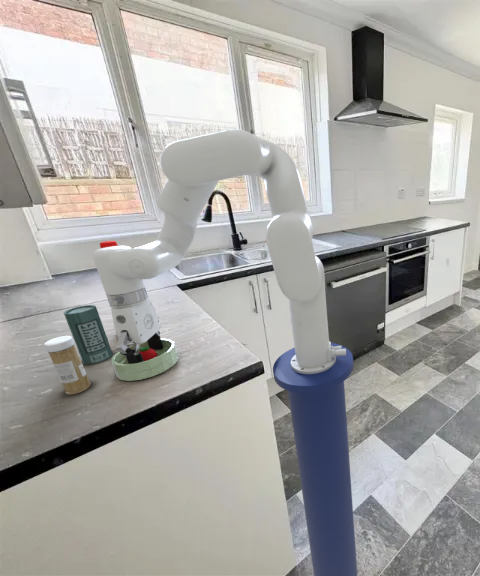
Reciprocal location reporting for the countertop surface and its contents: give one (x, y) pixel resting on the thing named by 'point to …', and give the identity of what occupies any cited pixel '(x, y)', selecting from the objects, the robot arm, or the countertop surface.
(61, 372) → the sprinkles bottle
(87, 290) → the countertop surface
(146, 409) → the countertop surface
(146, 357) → the tomato
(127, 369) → the bowl
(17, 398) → the countertop surface
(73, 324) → the can
